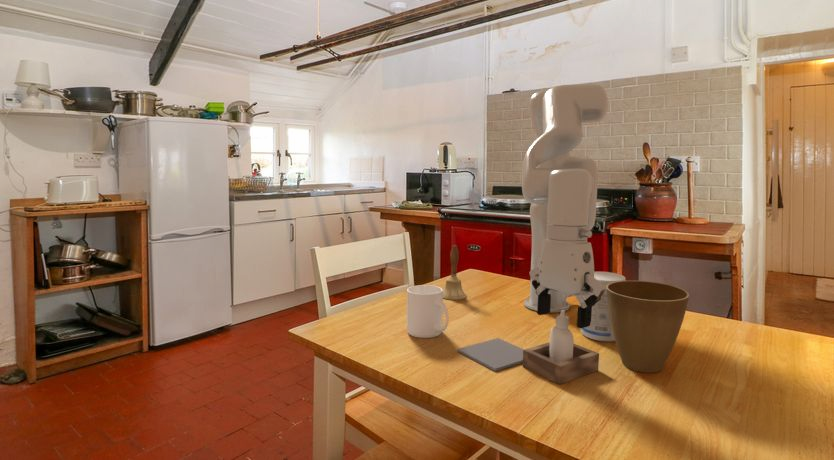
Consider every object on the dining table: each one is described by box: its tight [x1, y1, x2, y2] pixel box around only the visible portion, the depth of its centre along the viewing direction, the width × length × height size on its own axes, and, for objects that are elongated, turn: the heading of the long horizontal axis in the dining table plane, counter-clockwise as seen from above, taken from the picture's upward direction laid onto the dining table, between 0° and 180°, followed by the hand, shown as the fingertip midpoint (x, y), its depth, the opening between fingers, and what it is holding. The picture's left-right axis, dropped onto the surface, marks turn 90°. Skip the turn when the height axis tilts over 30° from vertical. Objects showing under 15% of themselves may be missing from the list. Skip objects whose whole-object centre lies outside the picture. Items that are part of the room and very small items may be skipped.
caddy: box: [522, 341, 600, 385], centre depth 95 cm, size 11×9×4 cm
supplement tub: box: [580, 271, 627, 343], centre depth 113 cm, size 10×10×15 cm
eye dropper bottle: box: [549, 310, 575, 363], centre depth 94 cm, size 4×6×12 cm
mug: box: [406, 284, 449, 339], centre depth 113 cm, size 9×12×11 cm
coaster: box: [456, 337, 525, 372], centre depth 102 cm, size 12×12×1 cm
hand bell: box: [443, 244, 467, 301], centre depth 146 cm, size 8×8×16 cm
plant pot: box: [606, 280, 690, 373], centre depth 96 cm, size 15×15×16 cm
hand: (562, 320), depth 93 cm, fingers open, 9 cm apart
